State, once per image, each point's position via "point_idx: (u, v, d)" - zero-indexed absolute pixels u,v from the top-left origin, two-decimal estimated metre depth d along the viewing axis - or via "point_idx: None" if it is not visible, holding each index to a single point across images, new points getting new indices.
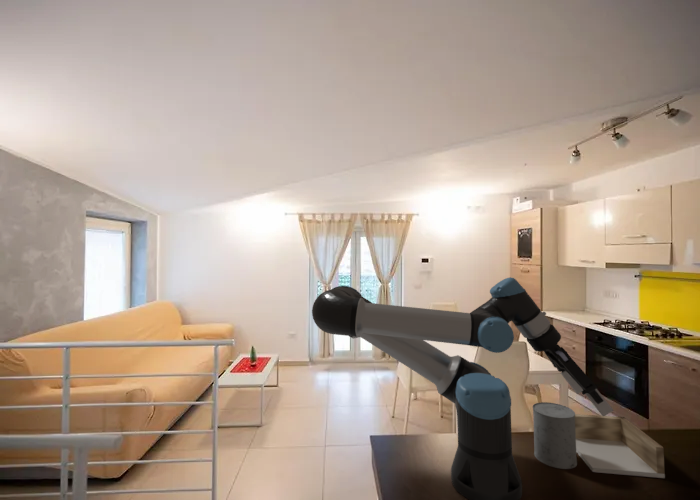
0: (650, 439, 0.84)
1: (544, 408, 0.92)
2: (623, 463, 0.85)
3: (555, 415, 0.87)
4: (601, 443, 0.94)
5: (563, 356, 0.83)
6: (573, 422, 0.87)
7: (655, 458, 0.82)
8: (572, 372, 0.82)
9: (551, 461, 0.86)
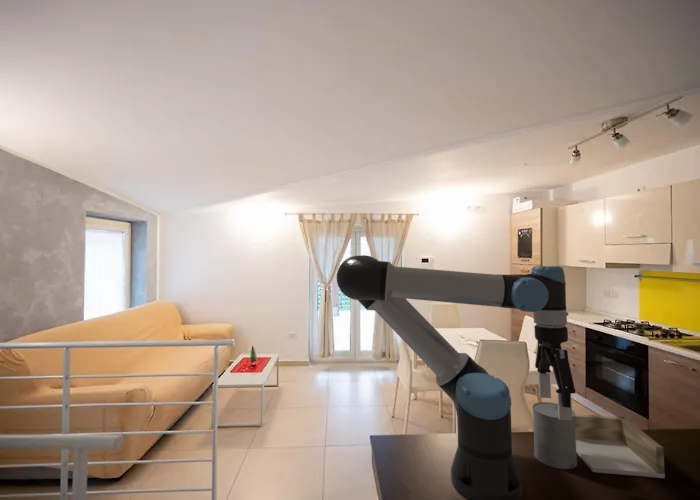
0: (650, 439, 0.84)
1: (544, 408, 0.92)
2: (623, 463, 0.85)
3: (555, 415, 0.87)
4: (601, 443, 0.94)
5: (562, 353, 0.84)
6: (573, 422, 0.87)
7: (655, 458, 0.82)
8: (561, 370, 0.83)
9: (551, 461, 0.86)
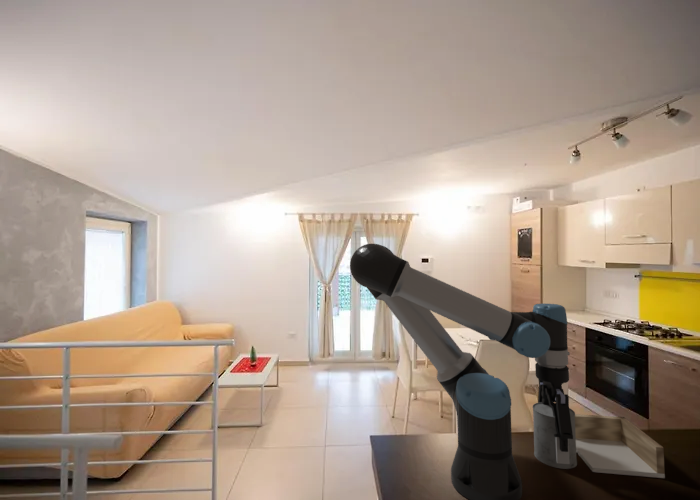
0: (650, 439, 0.84)
1: (544, 408, 0.92)
2: (623, 463, 0.85)
3: None
4: (601, 443, 0.94)
5: (563, 399, 0.84)
6: (573, 422, 0.87)
7: (655, 458, 0.82)
8: (560, 415, 0.83)
9: (551, 461, 0.86)
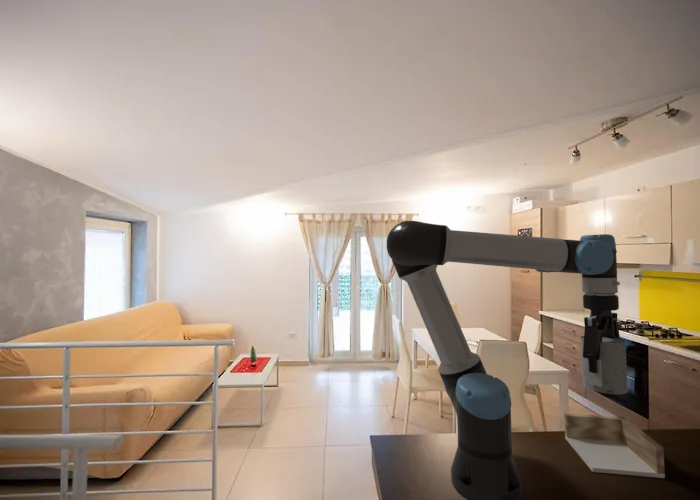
0: (650, 439, 0.84)
1: None
2: (623, 463, 0.85)
3: None
4: (601, 443, 0.94)
5: (589, 321, 0.87)
6: (613, 350, 0.86)
7: (655, 458, 0.82)
8: (585, 336, 0.87)
9: (587, 383, 0.89)
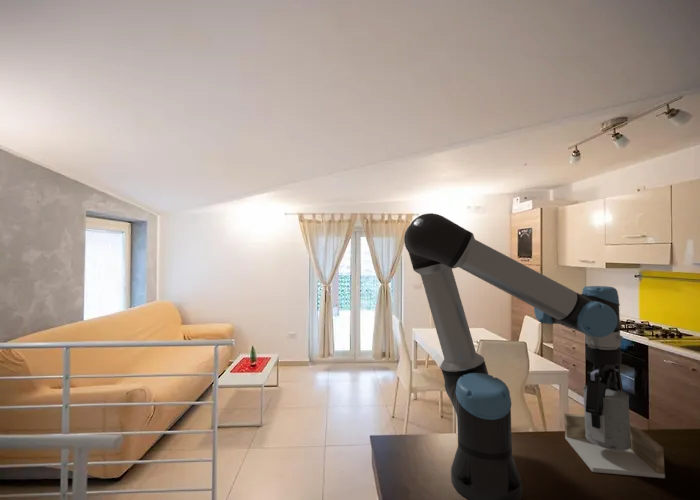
0: (650, 439, 0.84)
1: None
2: (623, 463, 0.85)
3: None
4: None
5: (592, 376, 0.86)
6: (616, 405, 0.85)
7: (655, 458, 0.82)
8: (588, 391, 0.87)
9: (590, 437, 0.89)
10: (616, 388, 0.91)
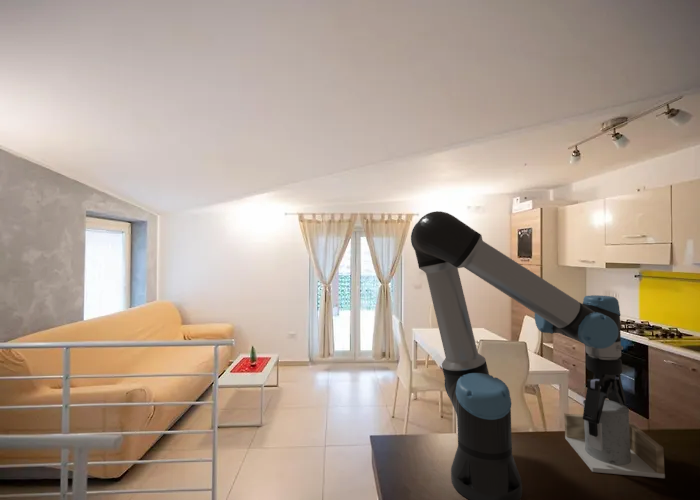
0: (650, 439, 0.84)
1: None
2: None
3: None
4: None
5: (592, 383, 0.86)
6: (616, 420, 0.85)
7: (655, 458, 0.82)
8: (587, 398, 0.86)
9: (590, 451, 0.89)
10: (617, 395, 0.91)
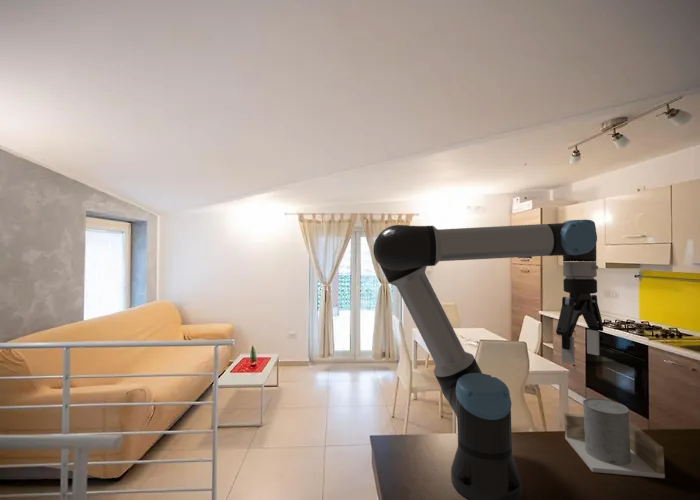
0: (650, 439, 0.84)
1: (599, 403, 0.92)
2: None
3: (597, 408, 0.88)
4: None
5: (567, 300, 0.89)
6: (616, 420, 0.85)
7: (655, 458, 0.82)
8: (561, 314, 0.89)
9: (590, 451, 0.89)
10: (593, 317, 0.95)
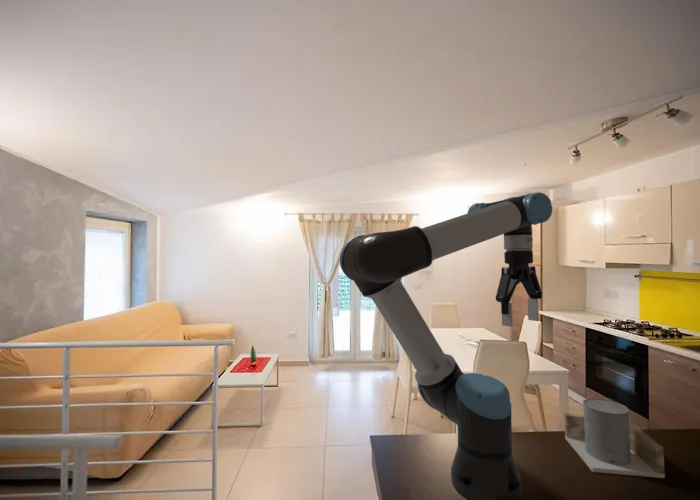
0: (650, 439, 0.84)
1: (599, 403, 0.92)
2: None
3: (597, 408, 0.88)
4: None
5: (505, 270, 0.98)
6: (616, 420, 0.85)
7: (655, 458, 0.82)
8: (500, 282, 0.98)
9: (590, 451, 0.89)
10: (532, 286, 1.04)
